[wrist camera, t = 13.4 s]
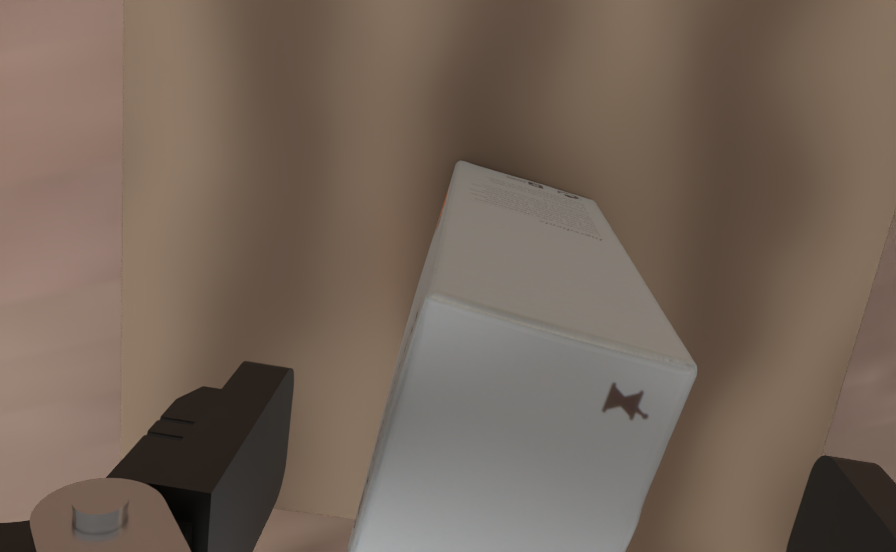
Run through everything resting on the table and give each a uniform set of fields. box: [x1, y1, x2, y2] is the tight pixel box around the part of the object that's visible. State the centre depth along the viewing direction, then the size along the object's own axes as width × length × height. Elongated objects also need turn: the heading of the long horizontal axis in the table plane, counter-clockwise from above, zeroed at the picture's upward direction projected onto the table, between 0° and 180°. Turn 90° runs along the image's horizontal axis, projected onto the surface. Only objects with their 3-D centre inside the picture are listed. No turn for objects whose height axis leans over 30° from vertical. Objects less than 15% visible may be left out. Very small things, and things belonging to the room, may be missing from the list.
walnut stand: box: [120, 0, 896, 552], centre depth 25 cm, size 22×18×4 cm
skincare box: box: [347, 161, 697, 552], centre depth 18 cm, size 6×4×12 cm
